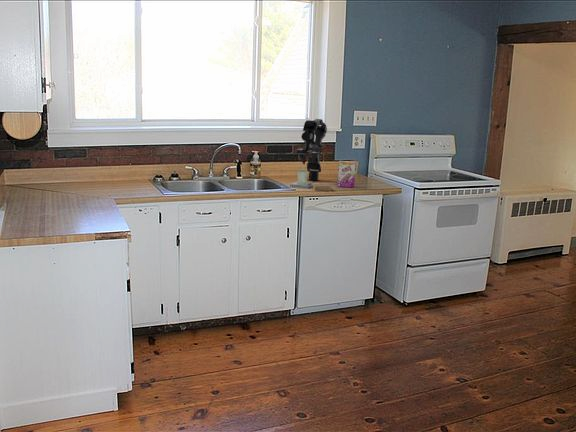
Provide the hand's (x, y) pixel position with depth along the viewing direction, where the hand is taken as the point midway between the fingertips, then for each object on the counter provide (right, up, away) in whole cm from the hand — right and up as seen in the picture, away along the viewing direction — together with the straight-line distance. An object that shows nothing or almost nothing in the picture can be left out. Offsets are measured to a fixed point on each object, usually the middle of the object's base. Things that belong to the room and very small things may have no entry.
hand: (308, 163), depth 383 cm
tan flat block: (+7, -18, -18) cm, 26 cm away
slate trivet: (-5, -15, -8) cm, 18 cm away
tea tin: (-5, -14, -9) cm, 17 cm away
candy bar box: (+24, -15, -3) cm, 29 cm away
